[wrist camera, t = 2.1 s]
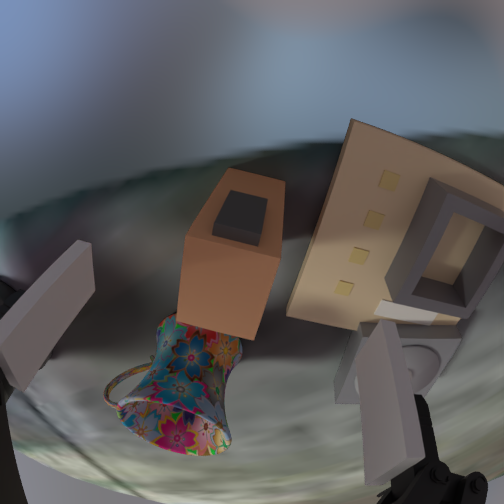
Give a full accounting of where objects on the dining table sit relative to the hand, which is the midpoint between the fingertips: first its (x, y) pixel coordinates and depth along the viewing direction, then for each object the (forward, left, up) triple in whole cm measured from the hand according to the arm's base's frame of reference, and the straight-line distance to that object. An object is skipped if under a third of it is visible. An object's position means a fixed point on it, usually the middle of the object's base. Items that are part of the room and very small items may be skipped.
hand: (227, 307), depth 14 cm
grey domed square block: (+17, -11, -11) cm, 23 cm away
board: (+13, 0, -11) cm, 17 cm away
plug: (0, 0, -11) cm, 11 cm away
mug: (-3, -15, -11) cm, 19 cm away
